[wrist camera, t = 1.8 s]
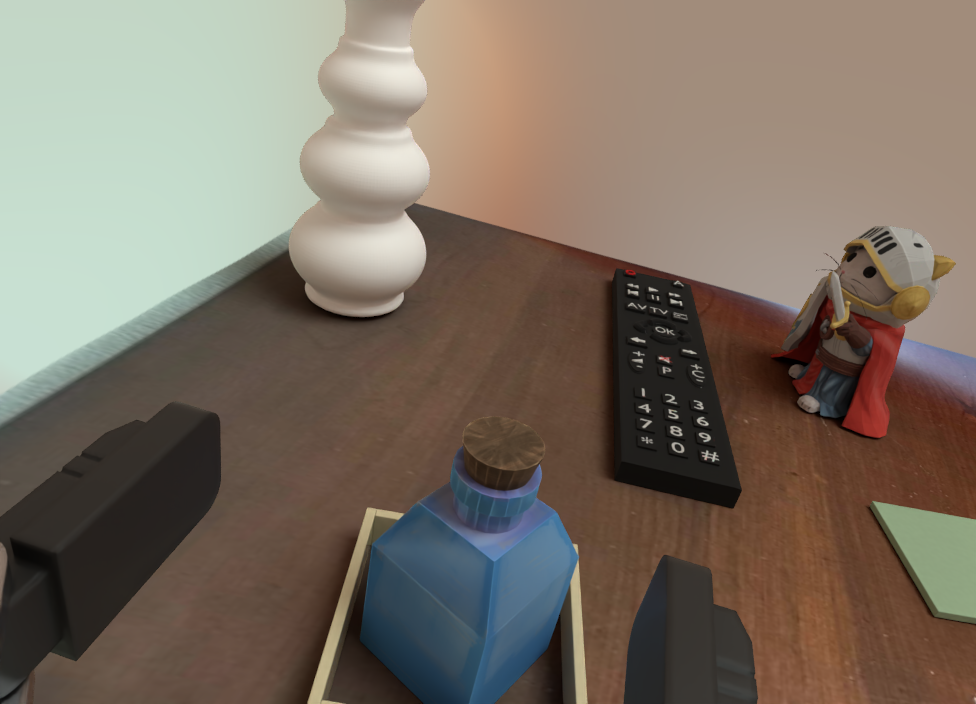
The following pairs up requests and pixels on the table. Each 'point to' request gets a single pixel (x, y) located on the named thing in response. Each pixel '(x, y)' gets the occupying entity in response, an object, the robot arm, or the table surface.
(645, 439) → the remote control
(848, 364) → the figurine
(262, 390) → the table surface
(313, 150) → the vase
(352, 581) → the holder
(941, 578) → the mat
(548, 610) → the perfume bottle
